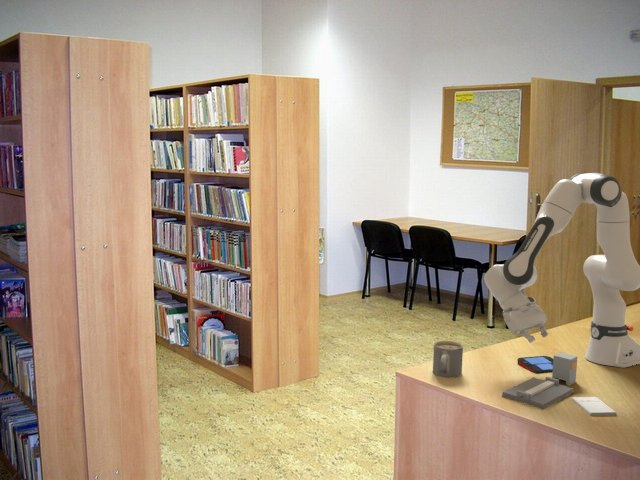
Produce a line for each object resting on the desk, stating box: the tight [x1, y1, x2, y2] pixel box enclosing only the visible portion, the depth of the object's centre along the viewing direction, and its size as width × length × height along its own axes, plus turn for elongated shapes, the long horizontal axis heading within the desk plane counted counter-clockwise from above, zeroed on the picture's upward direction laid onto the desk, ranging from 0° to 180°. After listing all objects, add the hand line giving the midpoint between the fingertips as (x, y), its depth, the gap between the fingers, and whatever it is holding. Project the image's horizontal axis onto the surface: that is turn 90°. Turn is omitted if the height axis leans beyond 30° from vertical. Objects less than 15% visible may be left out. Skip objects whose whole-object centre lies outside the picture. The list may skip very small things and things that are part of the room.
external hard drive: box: [571, 396, 618, 417], centre depth 208 cm, size 2×8×12 cm
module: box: [551, 352, 578, 387], centre depth 229 cm, size 5×6×9 cm
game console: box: [516, 355, 554, 375], centre depth 245 cm, size 14×13×2 cm
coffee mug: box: [432, 340, 464, 378], centre depth 235 cm, size 13×10×10 cm
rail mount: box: [501, 376, 574, 410], centre depth 218 cm, size 20×14×3 cm
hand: (539, 338), depth 235 cm, fingers open, 8 cm apart
